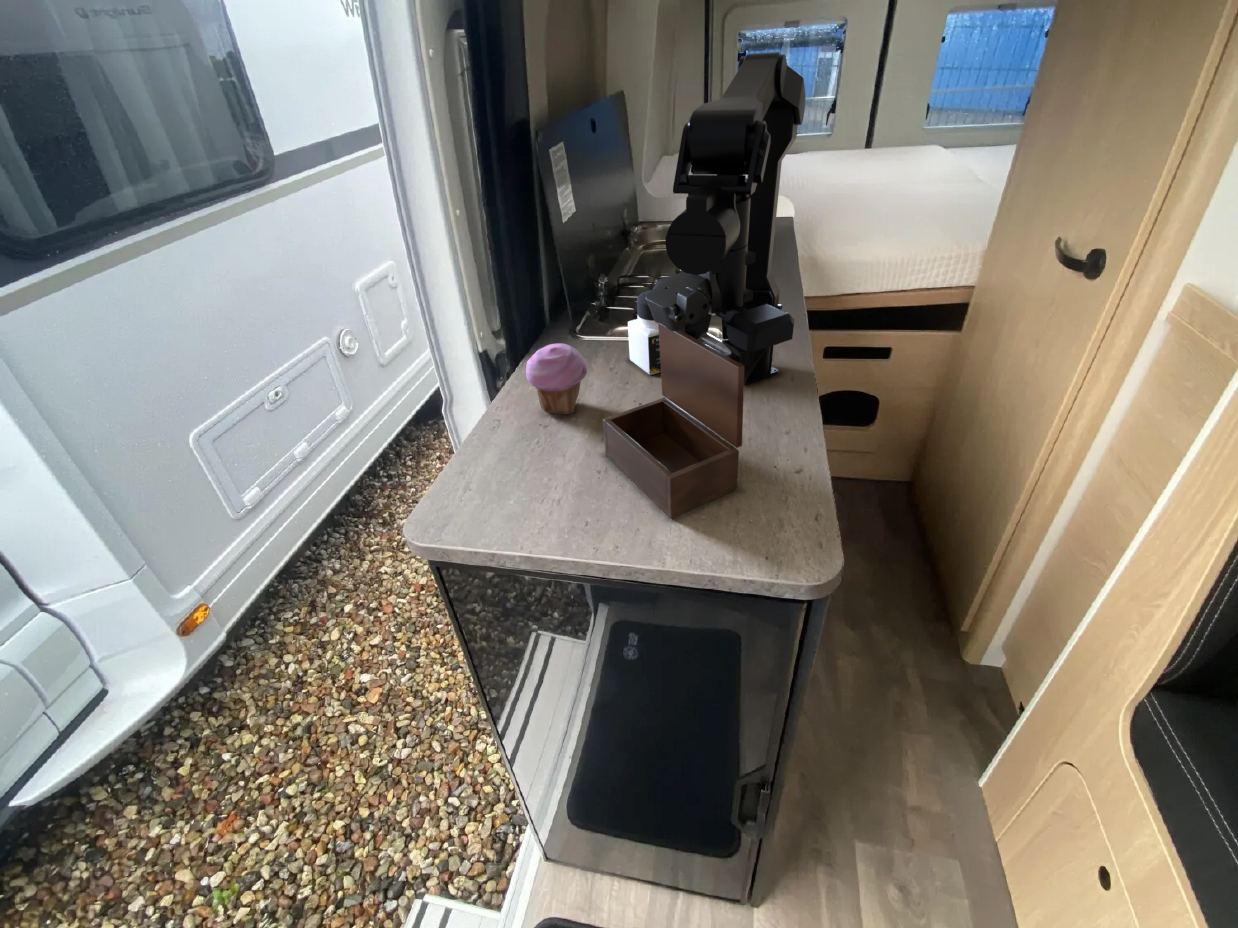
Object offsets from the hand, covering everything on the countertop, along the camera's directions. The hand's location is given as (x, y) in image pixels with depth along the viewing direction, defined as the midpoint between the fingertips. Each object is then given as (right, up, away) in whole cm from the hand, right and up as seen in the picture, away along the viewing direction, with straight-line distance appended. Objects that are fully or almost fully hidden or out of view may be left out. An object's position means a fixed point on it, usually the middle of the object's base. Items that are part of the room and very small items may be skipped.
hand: (715, 375), depth 74 cm
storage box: (-6, -12, +4) cm, 14 cm away
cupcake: (-20, -2, +19) cm, 28 cm away
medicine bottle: (-5, +6, +30) cm, 31 cm away
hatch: (-3, -1, -1) cm, 3 cm away
